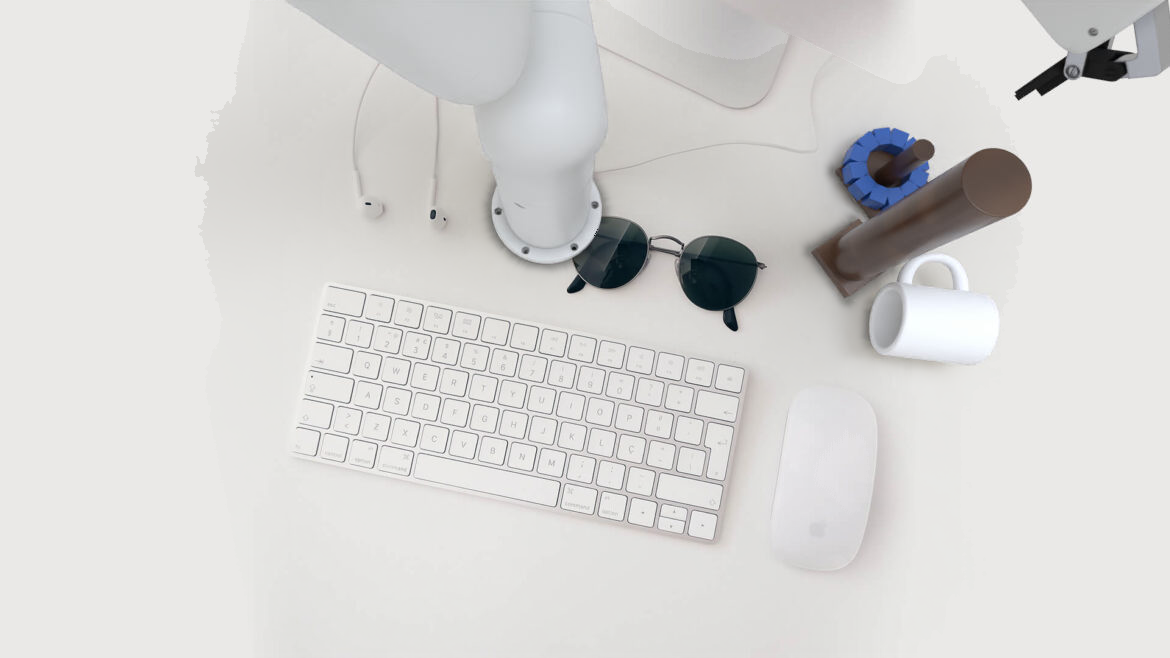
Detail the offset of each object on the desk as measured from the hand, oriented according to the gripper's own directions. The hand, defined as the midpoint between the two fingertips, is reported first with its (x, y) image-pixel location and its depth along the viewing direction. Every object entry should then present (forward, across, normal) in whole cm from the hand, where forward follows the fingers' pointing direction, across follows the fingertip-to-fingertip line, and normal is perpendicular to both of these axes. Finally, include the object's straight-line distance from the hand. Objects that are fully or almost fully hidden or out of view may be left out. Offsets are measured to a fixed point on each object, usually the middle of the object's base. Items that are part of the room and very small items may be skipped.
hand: (989, 38), depth 48 cm
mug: (+27, +19, -2) cm, 33 cm away
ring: (+26, +3, +4) cm, 26 cm away
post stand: (+27, +4, +4) cm, 28 cm away
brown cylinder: (+27, +10, -5) cm, 29 cm away
